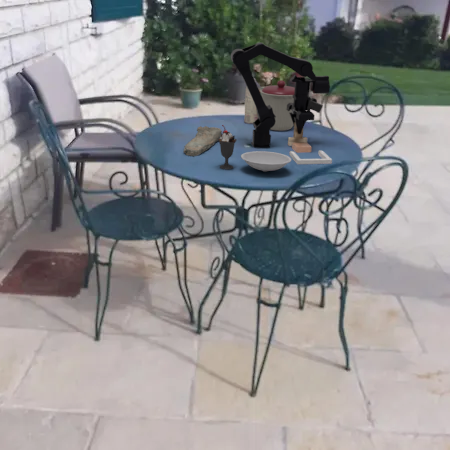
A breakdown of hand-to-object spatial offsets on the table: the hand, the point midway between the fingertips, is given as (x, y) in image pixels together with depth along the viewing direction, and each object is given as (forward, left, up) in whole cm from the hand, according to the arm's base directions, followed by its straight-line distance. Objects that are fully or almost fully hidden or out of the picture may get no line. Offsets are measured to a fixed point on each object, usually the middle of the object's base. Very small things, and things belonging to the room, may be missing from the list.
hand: (298, 132), depth 222 cm
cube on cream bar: (0, 0, -5) cm, 5 cm away
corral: (0, -17, -5) cm, 18 cm away
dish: (-20, -30, -6) cm, 36 cm away
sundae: (-33, -25, -6) cm, 42 cm away
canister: (-1, +28, -6) cm, 29 cm away
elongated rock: (-37, +5, -6) cm, 38 cm away
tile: (0, -6, -6) cm, 8 cm away
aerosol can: (-11, +39, -6) cm, 41 cm away
